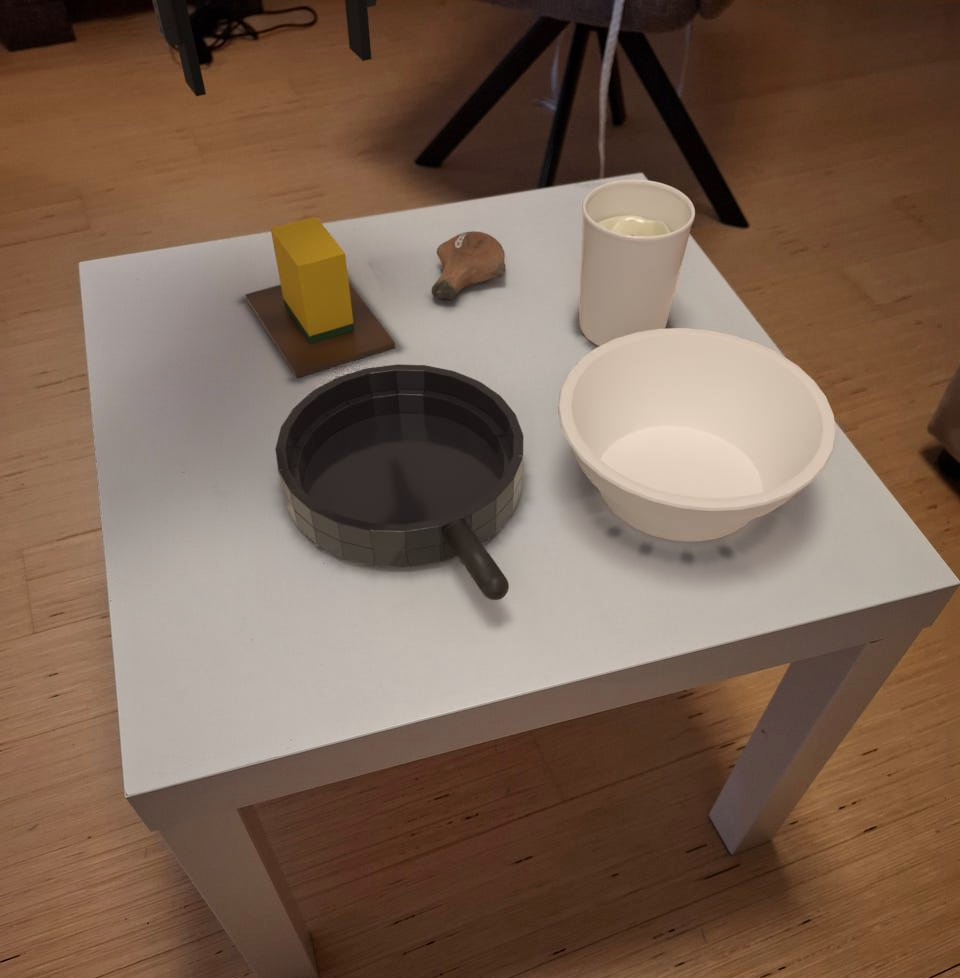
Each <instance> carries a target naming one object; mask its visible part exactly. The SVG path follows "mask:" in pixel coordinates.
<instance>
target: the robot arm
mask: <svg viewBox="0 0 960 978" xmlns="http://www.w3.org/2000/svg"><path fill="white" fill-rule="evenodd" d="M151 1H152V5H153V9H154V12H155V17H156V21H157V24H158V30H159V33H160V35H161V36H162V38H163V39H164V41H165V42H166V43H167V45H168V46H169V47H173V46H177V50H178V54H179V55H178V56H179V58H180V63H181V64H180V65H181V67H182V68H181V69H182V72H183V76H184V81H185V83H186V85H187V86H188V87H189V89H190V90H191V92H192V93H193V94H194V96H196V97H201V96H205V95H207V91H206V87H205V83H204V78H203V74H202V69H201V64H200V60H199V55H198V50H197V46H196V42H195V37H194V32H193V28H192V23H191V19H190V13H189V10H188V9H189V8H188V5H187V0H151ZM377 1H378V0H344V6H345V17H346V25H347V38H348V46H349V47H348V48H349V49H350V50H351V51H352V52H353V53H354V55H356V56H357V57H358V58H359V59H360V60H361V61H362V62H365V61H369V60H372V47H371V35H370V24H369V23H370V22H369V12H368V8H372V7H376V5H377Z"/></svg>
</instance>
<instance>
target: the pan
mask: <svg viewBox="0 0 960 978" xmlns="http://www.w3.org/2000/svg"><path fill="white" fill-rule="evenodd" d="M275 457H276V465H277V471H278V476H279V481H280V485H281V489H282V494H283V497H284V501H285V506H286V509H287V511H288V512H289V514H290V516H291V518H292V520H293V521H294V523H295V526H296V527H297V528H298V529H299V530H300V531H301V532H302V533H304V535H306V537H308V538H309V539H310V540H311V541H312V542H314V544H315V545H316V546H318V547H320V548H322V549H324V550H326V551H328V552H330V553H332V554H334V555H336V556H338V557H340V558H341V559H344V560H347V561H350V562H351V561H352V562H355V563H360V564H362V565H363V564H364V565H368V566H372V567H386V568H387V567H388V568H413V567H420V566H425V565H432V564H437V563H438V564H439V563H443V562H446V561H448V560H451V559H453V558H457V557H458V556H457V555H456V553H455V552H454V550H453V549H452V547H451V546H450V544H449V543H448V541H447V540H446V538H445V536H444V532H445V529H446V528H447V526H448V525H449V524H451V523H452V522H454V521H456V520H464V521H466V522H467V523H468V525H469V526H470V528H471V529H472V530H473V532H474V533H475V535H476V536H477V537H478V539H479V540H480V542H481V543H482V544H483V543H485V542H486V541H488V540H489V539H491V538H492V537H494V536H495V535H496V534H497V533H498V532H499V531H500V530H501V528H503V526H504V524H505V523H506V522H507V521H508V520H509V519H510V517H512V515H513V513H514V512H515V509H516V506H517V504H518V501H519V499H520V496H521V495H522V485H523V484H522V483H523V465H524V433H523V430H522V427H521V425H520V422H519V419H518V416H517V415H516V413H515V411H514V410H513V409H512V407H510V405H509V404H508V403H507V401H505V399H504V398H503V397H502V396H501V395H500V394H499V393H497V392H496V391H494V390H493V389H491V388H490V387H489V386H487V385H486V384H484V383H483V382H481V381H479V380H477V379H475V378H472V377H470V376H467V375H464V374H462V373H460V372H457V371H456V370H455V371H454V370H451V369H446V368H441V367H436V366H430V365H426V364H397V363H396V364H390V365H381V366H374V367H368V368H367V367H366V368H363V369H360V370H356V371H353V372H349V373H347V374H344V375H341V376H338V377H335V378H334V379H332V380H330V381H328V382H327V383H325V384H323V385H321V386H319V387H316V388H315V389H313V390H312V391H311V392H310V393H309V394H307V396H305V397H304V398H303V399H302V400H301V401H299V402H298V403H297V404H296V405H295V406H294V407H293V408H292V409H291V411H290V413H289V414H288V415H287V417H286V419H285V420H284V422H283V423H282V425H281V426H280V429H279V433H278V437H277V441H276V445H275Z"/></svg>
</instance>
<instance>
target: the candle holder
mask: <svg viewBox="0 0 960 978" xmlns="http://www.w3.org/2000/svg"><path fill="white" fill-rule="evenodd" d="M581 212H582V222H581V223H582V224H581V225H582V226H581V253H580V254H581V255H580V277H579V278H580V279H579V311H578V313H579V318H578V319H579V321H578V322H579V328H580V330H581V333H582V334H583V335H584V337H585V338H586V339H588V340H589V341H590V342H591V343H593V344H594V345H596V346H597V347H599V346H601V345H603V344H605V343H607V342H609V341H612V340H614V339H616V338H619V337H623V336H626V335H629V334H633V333H636V332H642V331H648V330H655V329H666V327H667V323H668V320H669V315H670V312H671V309H672V305H673V301H674V297H675V293H676V289H677V285H678V282H679V278H680V273H681V269H682V264H683V261H684V257H685V254H686V249H687V246H688V243H689V238H690V233H691V230H692V226H693V223H694V221H695V218H696V209H695V206H694V203H693V202H692V200H691V199H690V198H689V197H688V196H687V195H686V194H685V193H683V192H682V191H680V190H679V189H678V188H675V187H673V186H672V185H668V184H665V183H662V182H659V181H653V180H648V179H640V178H639V179H638V178H635V179H634V178H633V179H632V178H631V179H629V178H627V179H617V180H613V181H612V180H611V181H608V182H606V183H603V184H600V185H597V186H596V187H594V188H592V190H591V191H589V192H588V193H587V194H586V195H585V196H584V199H583V201H582V205H581Z"/></svg>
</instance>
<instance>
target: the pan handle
mask: <svg viewBox="0 0 960 978" xmlns="http://www.w3.org/2000/svg"><path fill="white" fill-rule="evenodd" d="M444 536H445V538H446V540H447V541H448V543H449V544H450V546H451V547H452V549H453V550H454V552H455V553H456V555H457V556H456V557H457V558H458V559H459V561H460V562H461V564H462V565H463V567H464V568H465V570H467V572H468V574H469V575H470V577H471V578H472V580H473V582H474V583H475V584H476V586H477V587H478V589H479V590H480V592H481V593H482V595H484V597H485V598H487V599H488V600H490V601H491V600H492V601H500V600H501V599H503V598H505V597H506V595H507V594H508V592H509V588H510V585H509V580H508V579H507V577H506V575H505V574H504V572H503V571H502V570H501V568H500V567H499V565H498V563H496V561H495V560H494V558H493V557H492V556H491V554H490V553H489V551H488V550H487V548H486V547H485V546H484V545H483V543H481V542H480V540H479V539H478V537H477V536H476V535H475V533H474V532H473V530H472V529H471V528H470V526H469V525H468V523H467V522H466V521H464V520H456V521H454V522H452V523H451V524H449V525H448V526H447V528H446V529H445V532H444Z"/></svg>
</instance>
